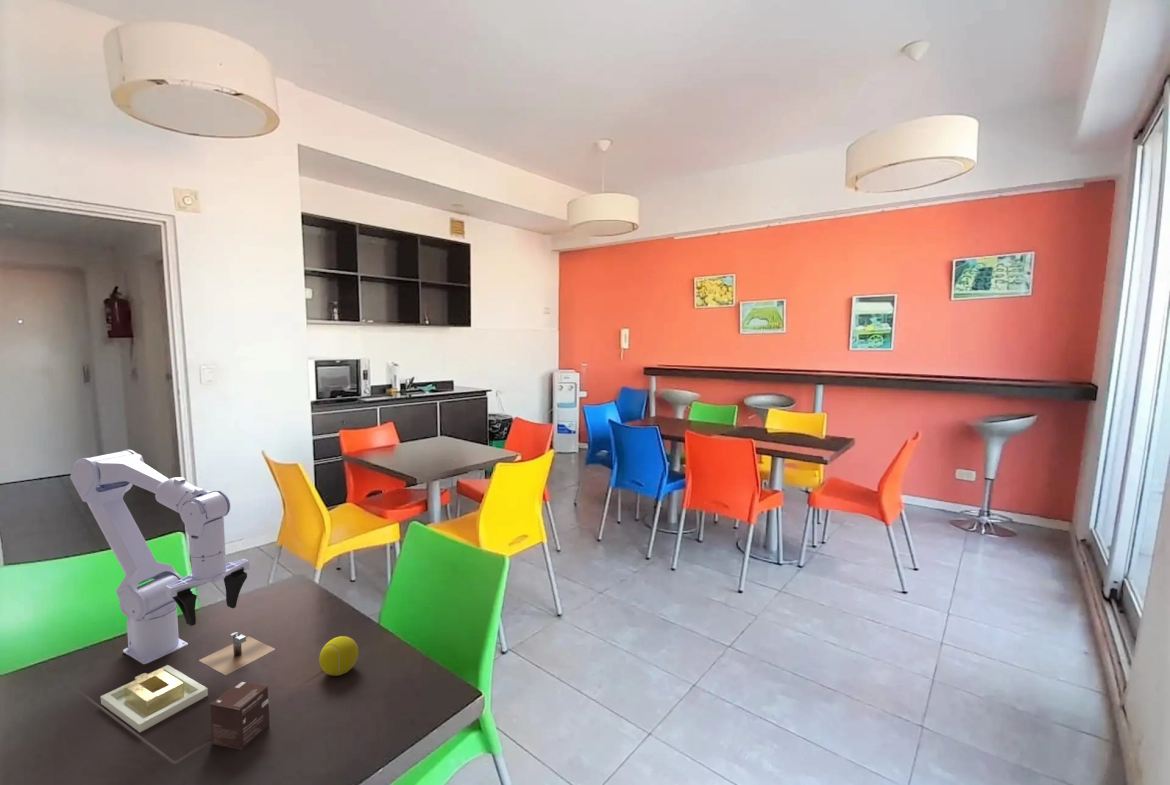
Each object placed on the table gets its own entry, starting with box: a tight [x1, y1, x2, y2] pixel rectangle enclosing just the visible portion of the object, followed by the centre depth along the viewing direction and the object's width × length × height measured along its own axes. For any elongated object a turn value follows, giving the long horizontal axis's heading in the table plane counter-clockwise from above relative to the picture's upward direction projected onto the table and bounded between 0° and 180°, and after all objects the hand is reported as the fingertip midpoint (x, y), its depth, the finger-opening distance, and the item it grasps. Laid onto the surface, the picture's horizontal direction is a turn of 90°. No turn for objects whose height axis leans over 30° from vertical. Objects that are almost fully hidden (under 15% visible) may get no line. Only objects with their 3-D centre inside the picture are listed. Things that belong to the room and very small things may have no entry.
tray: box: [100, 664, 209, 734], centre depth 95 cm, size 14×10×2 cm
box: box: [209, 681, 271, 750], centre depth 87 cm, size 6×6×7 cm
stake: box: [229, 631, 247, 657], centre depth 108 cm, size 4×1×4 cm, turn 63°
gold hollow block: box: [123, 668, 184, 717], centre depth 95 cm, size 6×10×3 cm, turn 62°
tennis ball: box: [318, 635, 359, 677], centre depth 104 cm, size 7×7×7 cm
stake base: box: [198, 635, 276, 677], centre depth 108 cm, size 10×10×1 cm
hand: (211, 615), depth 106 cm, fingers open, 7 cm apart
